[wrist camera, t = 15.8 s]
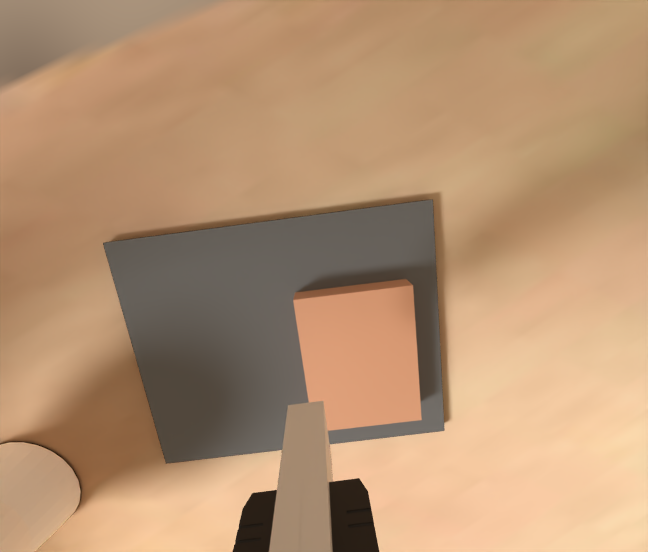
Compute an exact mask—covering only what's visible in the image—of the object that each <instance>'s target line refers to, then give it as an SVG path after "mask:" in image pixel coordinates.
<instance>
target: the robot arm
mask: <svg viewBox="0 0 648 552" xmlns="http://www.w3.org/2000/svg"><path fill="white" fill-rule="evenodd" d="M235 541H236V543H235V545H234V549H233V552H379V548H378V543H377V538H376V532H375V527H374V522H373V516H372V511H371V506H370V500H369V495H368V491H367V489H366V488H365V487H364V485H363V484H362V482H361V481H360V479H359V478H358V479H351V480H343V481H335V482H333V476H332V461H331V451H330V444H329V437H328V430H327V422H326V415H325V408H324V401H317V402H310V403H302V404H294V405H288V409H287V417H286V424H285V432H284V440H283V448H282V455H281V463H280V471H279V478H278V486H277V490H274V491H266V492H258V493H252V495H251V497H250V498H249V500H248V501H247V503H246V505H245V506H244V508H243V510H242V515H241V519H240V523H239V530H238V532H237V536H236V540H235Z"/></svg>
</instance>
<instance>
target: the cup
mask: <svg viewBox="0 0 648 552" xmlns="http://www.w3.org/2000/svg"><path fill="white" fill-rule="evenodd" d="M80 493H81V491H80V486H79V481H78V479H77V477H76V475H75V473H74V471H73V470H72V468H71V467H70V466H69V465H68V464H67V463H66V462H65V461H64V460H63V459H62V458H61V457H59V456H58V455H56V454H55V453H53V452H52V451H50V450H48V449H45V448H43V447H41V446H38V445H34V444H29V443H24V442H9V443H5V444H1V445H0V552H35V551H36V550H37V549H38V548H39V547H40V546H41V545H42V544H43V543H44V542H45V541H46V540H47V539H48V538H50V537H51V536H52V535H53V534H54V533H55V532H56V531H57V530H58V529H59V528H60V527H61V526H62V525H63V523H64V522H65V521H66V520H67V519H68V518H69V517H70V516H71V515H72V514H73V513H74V512H75V510H76V508H77V506H78V504H79V502H80Z"/></svg>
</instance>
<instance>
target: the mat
mask: <svg viewBox="0 0 648 552" xmlns="http://www.w3.org/2000/svg"><path fill="white" fill-rule="evenodd" d="M103 245H104V249H105V252H106V256H107V259H108V262H109V266H110V269H111V273H112V276H113V280H114V283H115V287H116V290H117V294H118V297H119V301H120V304H121V308H122V311H123V315H124V318H125V322H126V325H127V329H128V332H129V336H130V339H131V343H132V346H133V350H134V353H135V357H136V360H137V364H138V367H139V371H140V374H141V378H142V381H143V385H144V388H145V392H146V395H147V399H148V402H149V406H150V409H151V413H152V416H153V420H154V423H155V427H156V430H157V434H158V437H159V441H160V444H161V448H162V451H163V455H164V458H165V462H166V464H167V463H175V462H184V461H192V460H201V459H209V458H218V457H226V456H235V455H243V454H252V453H260V452H269V451H277V450H282V448H283V440H284V432H285V424H286V417H287V409H288V405H294V404H302V403H309V400H308V394H307V387H306V381H305V374H304V368H303V361H302V355H301V348H300V342H299V335H298V329H297V322H296V315H295V309H294V302H293V299H294V295H295V292H303V291H311V290H319V289H327V288H336V287H344V286H352V285H360V284H368V283H376V282H384V281H393V280H401V279H407V280H408V281H409V282H410V283H411V284H412V285H413V293H414V308H415V324H416V340H417V355H418V371H419V387H420V403H421V418H422V420H417V421H409V422H400V423H391V424H383V425H374V426H365V427H356V428H348V429H339V430H330V431H328V437H329V444H336V443H345V442H353V441H362V440H370V439H379V438H387V437H396V436H404V435H413V434H421V433H430V432H438V431H444V412H443V392H442V373H441V353H440V333H439V313H438V294H437V274H436V254H435V234H434V214H433V200H423V201H416V202H408V203H401V204H393V205H385V206H378V207H370V208H363V209H355V210H347V211H340V212H332V213H325V214H317V215H309V216H302V217H294V218H287V219H279V220H271V221H264V222H256V223H249V224H241V225H233V226H226V227H218V228H211V229H203V230H196V231H188V232H180V233H173V234H165V235H158V236H150V237H142V238H135V239H127V240H120V241H112V242H106V243H103Z"/></svg>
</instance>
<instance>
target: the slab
mask: <svg viewBox="0 0 648 552" xmlns="http://www.w3.org/2000/svg"><path fill="white" fill-rule="evenodd" d="M293 302H294V309H295V315H296V322H297V329H298V335H299V342H300V348H301V355H302V361H303V368H304V374H305V381H306V387H307V394H308V400H309V403H310V402H317V401H324V408H325V415H326V422H327V430H328V431H330V430H339V429H348V428H356V427H365V426H374V425H383V424H391V423H400V422H409V421H417V420H422V418H421V403H420V387H419V371H418V355H417V340H416V324H415V308H414V293H413V285H412V284H411V283H410V282H409V281H408V280H407V279H401V280H393V281H384V282H376V283H368V284H360V285H352V286H344V287H336V288H327V289H319V290H311V291H303V292H295V295H294V299H293Z"/></svg>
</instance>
